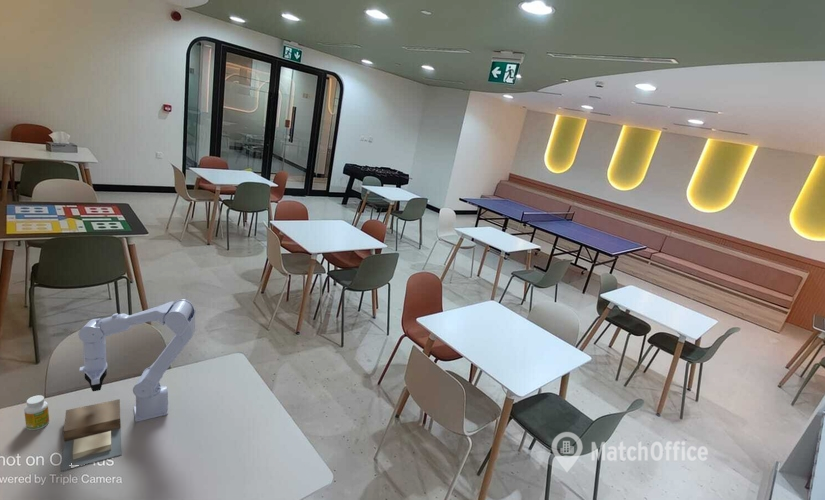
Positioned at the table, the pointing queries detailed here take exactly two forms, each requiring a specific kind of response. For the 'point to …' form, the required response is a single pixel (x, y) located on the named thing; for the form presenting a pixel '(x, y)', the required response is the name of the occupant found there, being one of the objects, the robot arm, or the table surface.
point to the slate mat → (100, 456)
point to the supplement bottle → (36, 413)
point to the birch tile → (92, 445)
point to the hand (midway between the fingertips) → (96, 389)
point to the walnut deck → (92, 420)
